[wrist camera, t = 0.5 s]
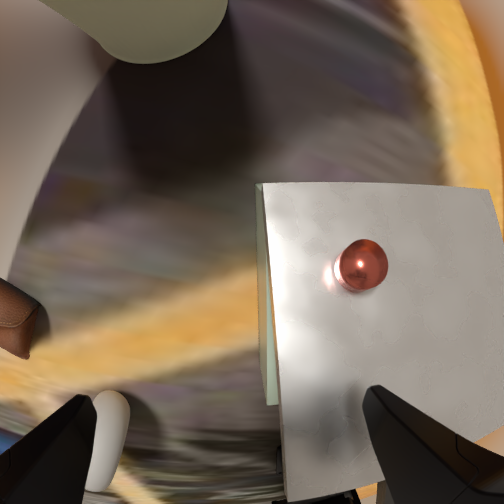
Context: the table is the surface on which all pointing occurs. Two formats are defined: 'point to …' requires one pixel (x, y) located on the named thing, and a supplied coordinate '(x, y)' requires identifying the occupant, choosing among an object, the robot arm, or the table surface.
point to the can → (144, 25)
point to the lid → (380, 318)
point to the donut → (107, 438)
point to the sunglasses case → (16, 319)
